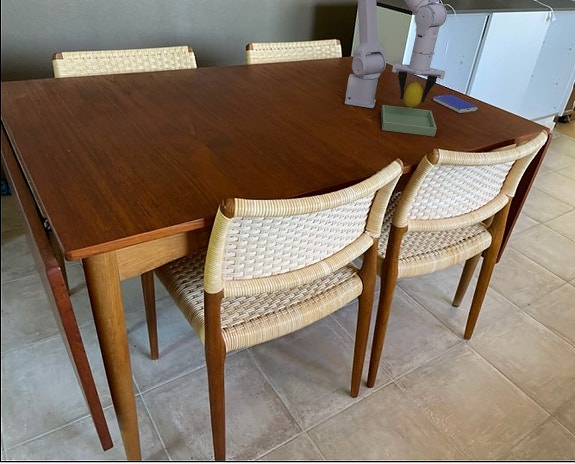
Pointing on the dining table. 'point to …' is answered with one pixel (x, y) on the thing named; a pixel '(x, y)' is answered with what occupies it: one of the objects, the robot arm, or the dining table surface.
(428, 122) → the tray
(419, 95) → the lemon
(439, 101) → the hard drive
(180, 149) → the dining table surface
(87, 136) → the dining table surface
